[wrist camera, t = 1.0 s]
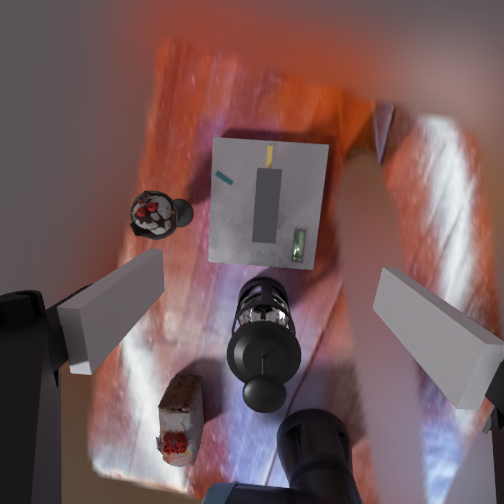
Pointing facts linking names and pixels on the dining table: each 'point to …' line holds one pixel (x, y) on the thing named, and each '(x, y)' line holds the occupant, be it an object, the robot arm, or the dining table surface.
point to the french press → (263, 345)
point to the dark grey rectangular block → (266, 202)
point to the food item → (181, 421)
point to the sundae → (158, 215)
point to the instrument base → (243, 200)
